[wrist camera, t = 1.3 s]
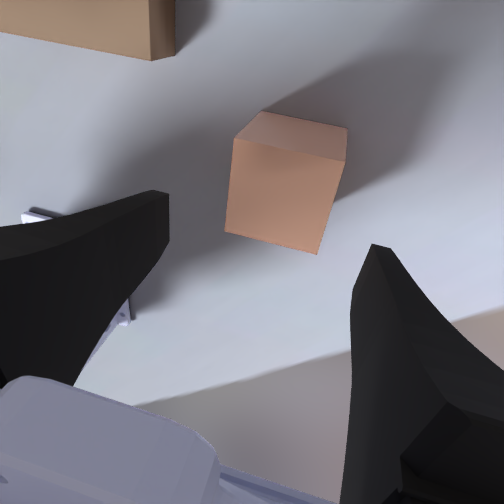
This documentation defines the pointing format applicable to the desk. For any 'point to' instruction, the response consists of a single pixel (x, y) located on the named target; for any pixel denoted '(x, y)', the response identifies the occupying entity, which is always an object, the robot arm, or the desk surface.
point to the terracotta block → (284, 180)
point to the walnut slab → (96, 24)
